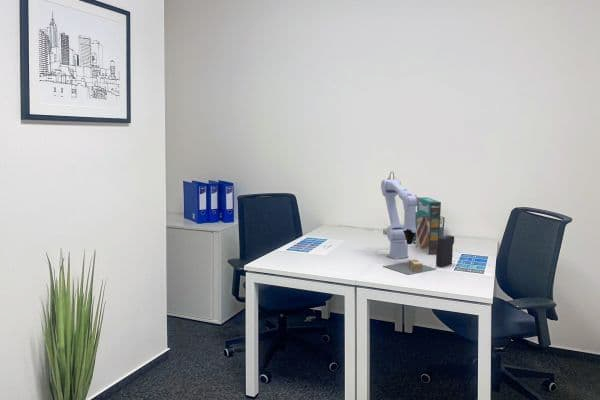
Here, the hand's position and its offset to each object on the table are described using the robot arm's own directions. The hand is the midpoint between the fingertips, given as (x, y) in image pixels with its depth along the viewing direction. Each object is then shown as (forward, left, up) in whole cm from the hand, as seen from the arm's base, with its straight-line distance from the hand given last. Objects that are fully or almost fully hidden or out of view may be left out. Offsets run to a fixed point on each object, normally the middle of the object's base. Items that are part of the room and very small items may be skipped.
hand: (409, 244), depth 272 cm
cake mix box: (-32, -17, -11) cm, 37 cm away
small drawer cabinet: (-14, +12, -11) cm, 21 cm away
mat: (+6, +7, -10) cm, 14 cm away
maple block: (+5, +8, -8) cm, 12 cm away
